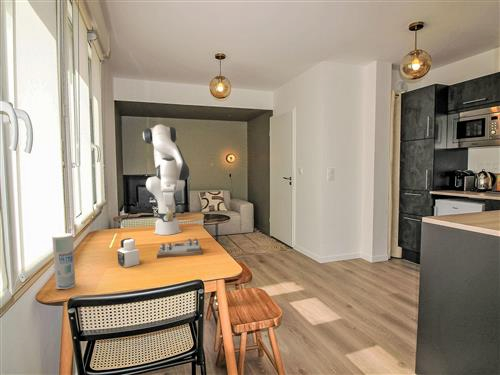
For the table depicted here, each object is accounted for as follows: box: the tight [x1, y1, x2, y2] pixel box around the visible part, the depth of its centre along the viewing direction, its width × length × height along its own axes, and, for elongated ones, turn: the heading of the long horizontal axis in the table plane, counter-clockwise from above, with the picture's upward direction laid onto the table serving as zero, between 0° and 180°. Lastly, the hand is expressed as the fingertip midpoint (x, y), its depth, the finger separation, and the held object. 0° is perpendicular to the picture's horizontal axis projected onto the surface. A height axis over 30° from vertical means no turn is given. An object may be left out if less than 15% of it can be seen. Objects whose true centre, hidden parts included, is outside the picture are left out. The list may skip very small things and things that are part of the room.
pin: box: [167, 205, 173, 222], centre depth 162 cm, size 3×3×10 cm
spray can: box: [52, 232, 76, 290], centre depth 111 cm, size 6×6×20 cm
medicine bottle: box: [117, 237, 140, 269], centre depth 136 cm, size 7×7×12 cm
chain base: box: [156, 245, 203, 259], centre depth 153 cm, size 11×22×2 cm, turn 103°
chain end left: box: [158, 242, 187, 254], centre depth 152 cm, size 7×14×4 cm, turn 103°
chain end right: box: [172, 238, 200, 252], centre depth 154 cm, size 7×14×5 cm, turn 103°
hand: (169, 212), depth 162 cm, fingers closed on pin, 3 cm apart
